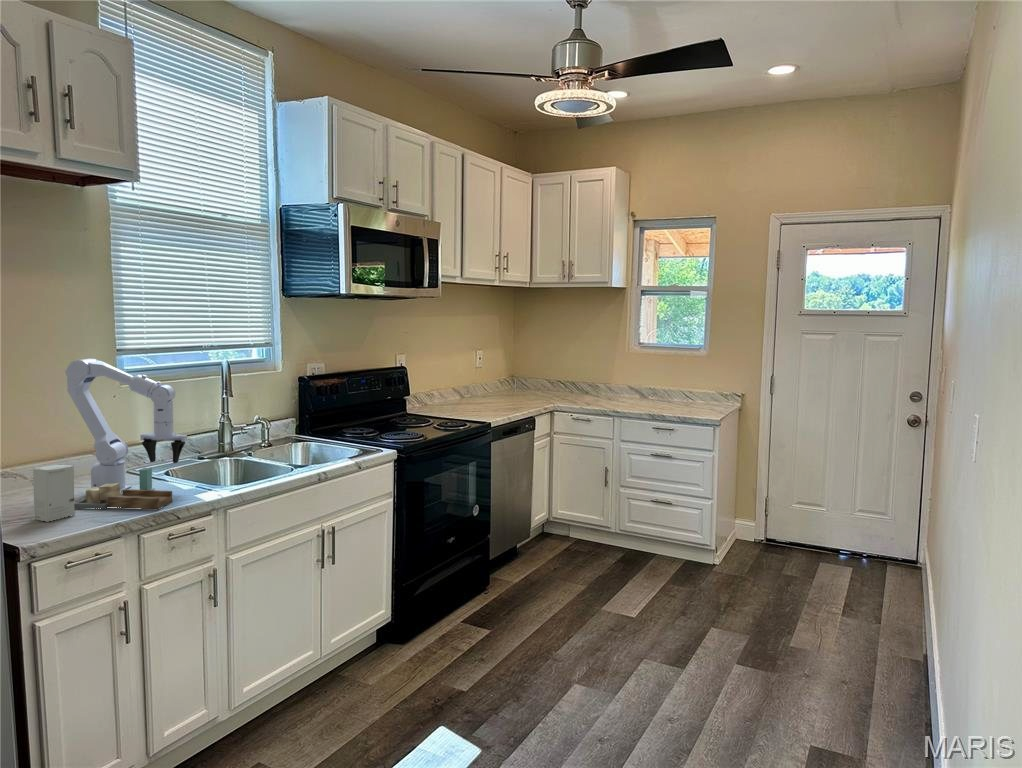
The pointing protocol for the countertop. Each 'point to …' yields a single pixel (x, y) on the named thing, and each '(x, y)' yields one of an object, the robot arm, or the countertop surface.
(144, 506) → the slot board
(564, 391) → the countertop surface
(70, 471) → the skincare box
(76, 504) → the chip tray
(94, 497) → the block
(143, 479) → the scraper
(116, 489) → the block
